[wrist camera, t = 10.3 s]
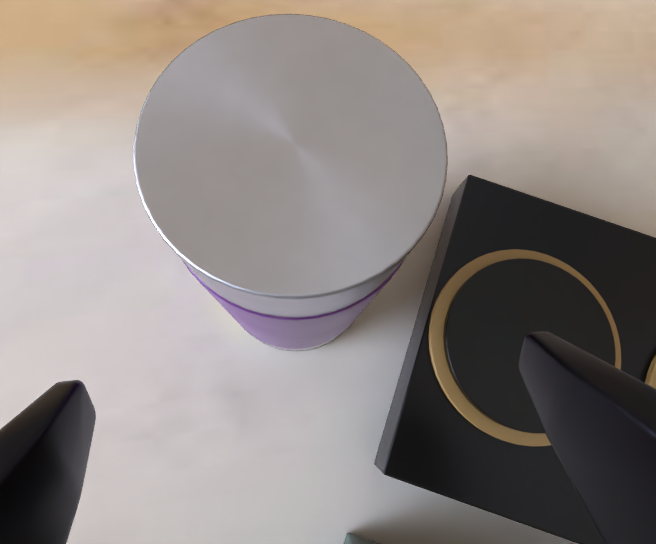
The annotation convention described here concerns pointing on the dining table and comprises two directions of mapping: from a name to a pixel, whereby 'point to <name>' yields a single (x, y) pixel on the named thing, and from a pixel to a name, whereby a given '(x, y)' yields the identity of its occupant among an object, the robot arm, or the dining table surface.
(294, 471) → the dining table surface
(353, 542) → the control box
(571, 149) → the dining table surface
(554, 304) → the hob
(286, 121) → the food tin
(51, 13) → the dining table surface
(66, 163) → the dining table surface
